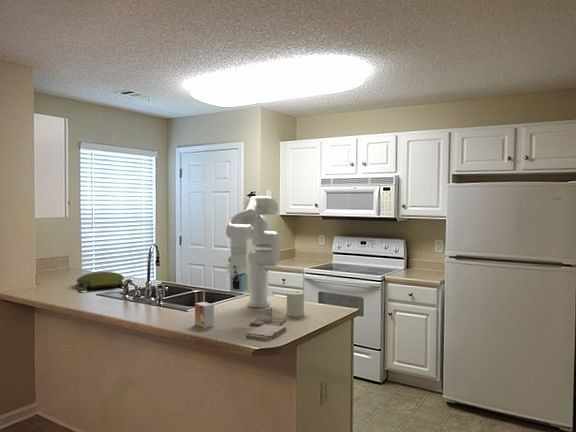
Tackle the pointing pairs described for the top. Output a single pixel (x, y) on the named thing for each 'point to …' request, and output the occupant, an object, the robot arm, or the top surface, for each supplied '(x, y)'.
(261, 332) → the washcloth
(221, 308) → the top surface
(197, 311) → the small box
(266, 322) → the post board
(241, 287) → the teal block
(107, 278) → the green cushion
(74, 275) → the top surface
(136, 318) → the top surface
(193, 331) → the top surface
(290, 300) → the can
